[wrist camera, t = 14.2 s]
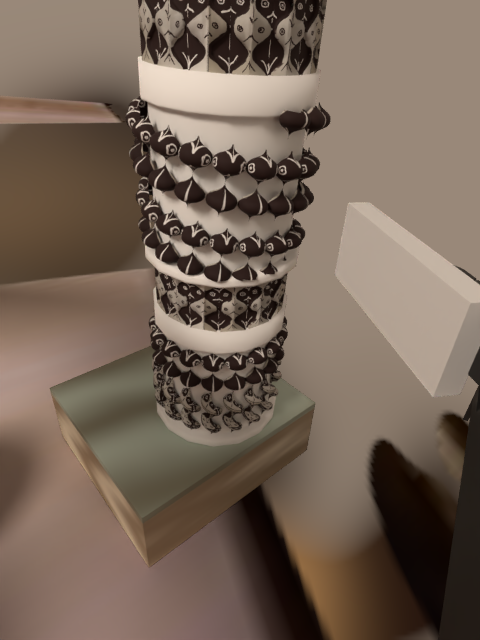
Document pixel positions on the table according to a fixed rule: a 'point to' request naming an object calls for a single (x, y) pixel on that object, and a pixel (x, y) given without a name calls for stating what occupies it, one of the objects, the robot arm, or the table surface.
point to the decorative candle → (223, 199)
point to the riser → (167, 453)
